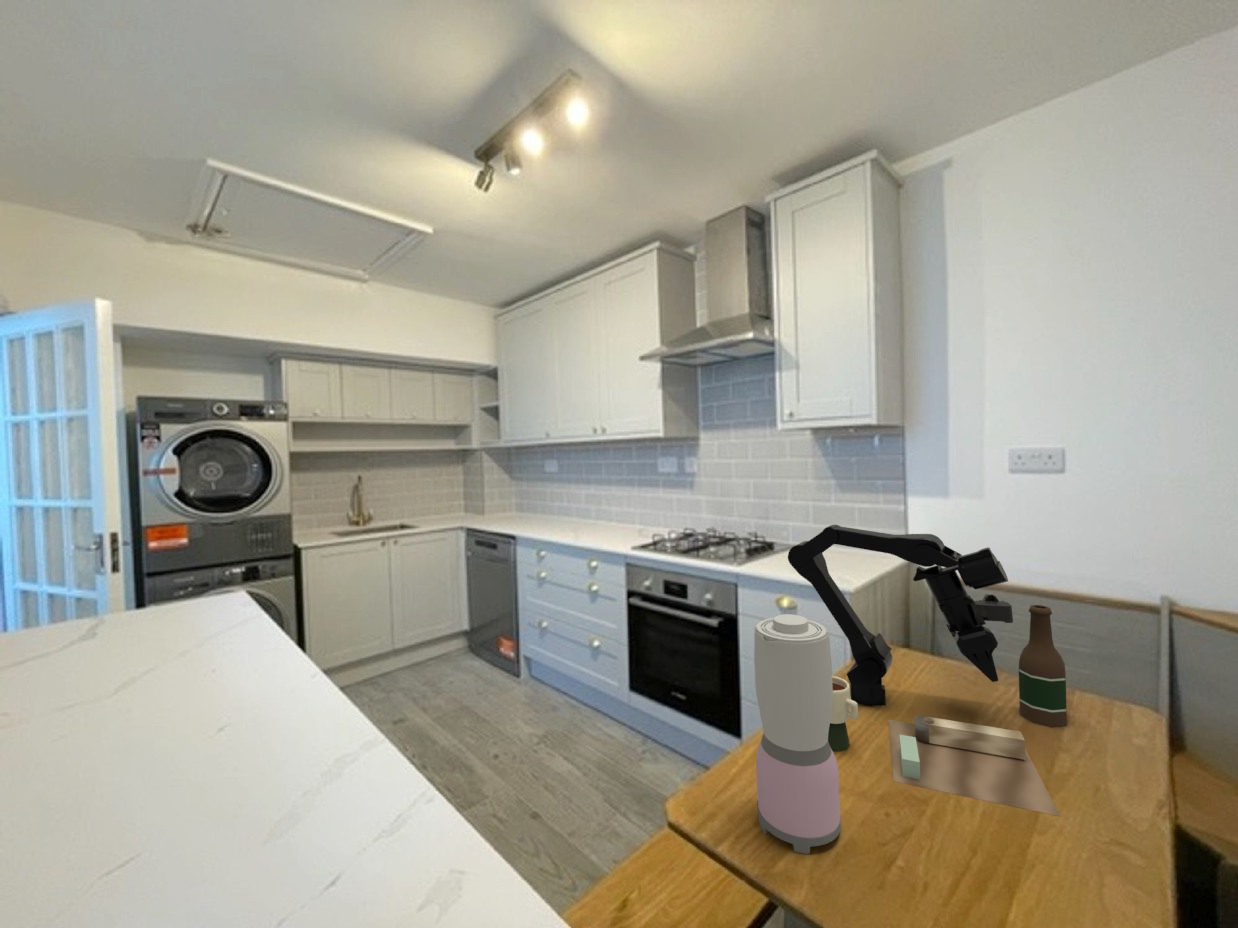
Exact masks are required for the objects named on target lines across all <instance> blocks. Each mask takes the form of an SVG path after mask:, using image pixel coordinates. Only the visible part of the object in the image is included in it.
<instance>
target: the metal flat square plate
mask: <svg viewBox="0 0 1238 928" xmlns="http://www.w3.org/2000/svg"><path fill="white" fill-rule="evenodd" d="M887 721H888V730H889V731H888V732H889V733H888V734H889V744H890V757H891V767H892V768H891V769H892V780H893V781H892V782H893V783H894V782H895V783H899V784H904V785H909V786H913V787H919V788H923V789H928V790H933V791H937V792H942V793H946V794H952V795H955V796H961V797H966V798H971V799H976V800H980V801H985V802H989V803H993V804H999V805H1005V806H1009V807H1014V808H1018V809H1022V810H1028V811H1032V812H1033V811H1034V812H1037V813H1042V814H1047V815H1051V816H1056V817H1061V815H1060V813H1059V811H1058V809H1057V807H1056V805H1055V803H1054V802H1053V799H1052V798H1051V795H1050V793H1049V791H1048V789H1047V788H1046V786H1045V783H1044V782H1043V780H1042V778H1041V776H1040V775H1039V772H1038V770H1037V768H1036V766H1035V765H1034V762H1033V761H1032V759H1031V757H1030V754H1029V753H1028V751H1027V750H1026V748H1025V759H1026V760H1023V759H1017V758H1012V757H1006V756H1000V755H995V754H989V753H983V752H978V751H972V750H966V749H961V748H955V747H949V746H944V745H938V744H932V743H925V742H922V741H920V740H918V739H917V738H916V743H917V749H918V755H919V761H920V780H919V779H914V778H909V777H904V776H903V774H902V765H901V756H900V738H899V734H900V735H905V736H911V737H915V723H910V722H905V721H900V720H892V719H888V720H887Z"/></svg>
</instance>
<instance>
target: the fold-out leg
mask: <svg viewBox="0 0 1238 928" xmlns="http://www.w3.org/2000/svg"><path fill="white" fill-rule="evenodd" d="M914 724H915V737H916V738H917V739H918V740H920V741H922V742H925V743H932V744H938V745H944V746H949V747H955V748H961V749H966V750H972V751H978V752H983V753H989V754H995V755H1000V756H1006V757H1012V758H1017V759H1023V760H1026V759H1025V749H1026V739H1025V738H1024V735H1023V734H1022V732H1021V731H1020V730H1014V729H1013V730H1012V729H1008V728H1007V729H1006V728H1001V727H995V726H990V725H988V726H987V725H982V724H975V723H969V722H963V721H957V720H952V719H951V720H950V719H944V718H938V717H931V716H926V715H916V716H914Z"/></svg>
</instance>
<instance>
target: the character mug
mask: <svg viewBox="0 0 1238 928" xmlns="http://www.w3.org/2000/svg"><path fill="white" fill-rule="evenodd" d="M832 686H833V700H832V710H831V717H830V726H829V732H828V742H829V745H830V747H831V749H832V751H833V753H835V752H837V753H838V752H839V753H841V752H843V751H847V750H848V749H849V748H850V739H849V733H848V728H847V724H846V722H848V721H849V719H852V720H858V718H859V706H858V705H859V703H857V702H855V701H853V700H851V685H850V682H849V681H847V680H845V679H844V678H843V677H840V676H835V675H832Z"/></svg>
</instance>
